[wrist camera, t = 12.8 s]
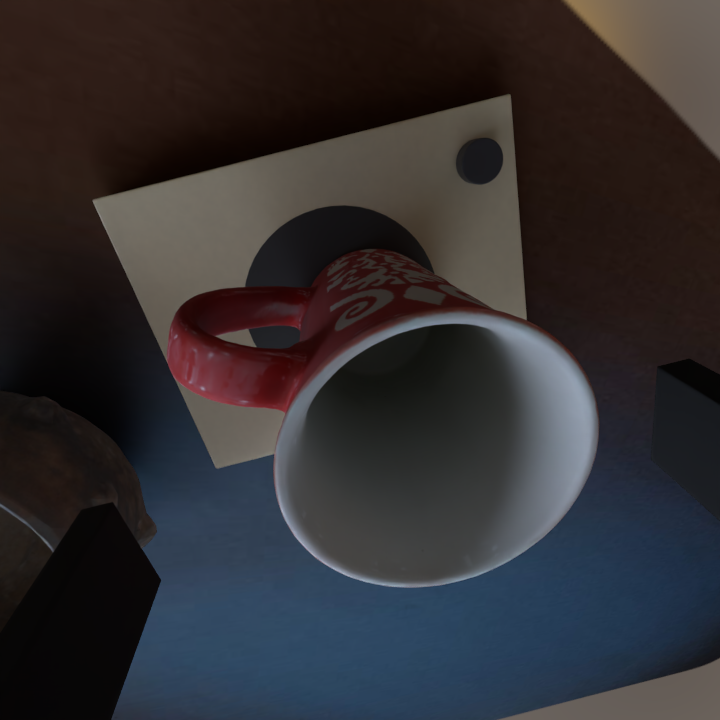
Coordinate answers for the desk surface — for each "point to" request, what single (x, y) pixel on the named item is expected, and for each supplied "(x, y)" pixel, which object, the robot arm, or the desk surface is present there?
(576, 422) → the mug
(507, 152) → the stove
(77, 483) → the bowl
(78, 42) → the desk surface
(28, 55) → the desk surface
